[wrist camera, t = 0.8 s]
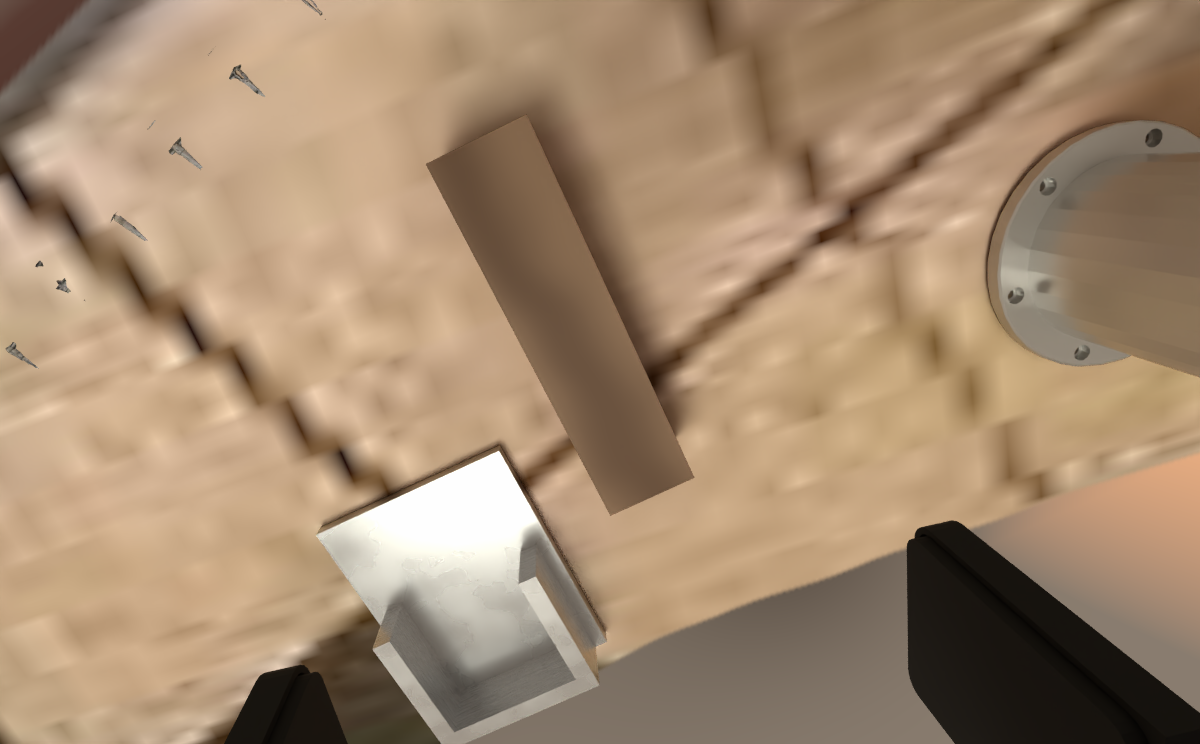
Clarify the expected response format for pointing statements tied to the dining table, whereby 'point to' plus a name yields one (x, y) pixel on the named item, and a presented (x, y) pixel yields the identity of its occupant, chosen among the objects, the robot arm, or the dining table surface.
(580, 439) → the walnut rail
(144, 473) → the dining table surface
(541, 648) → the cup bracket
